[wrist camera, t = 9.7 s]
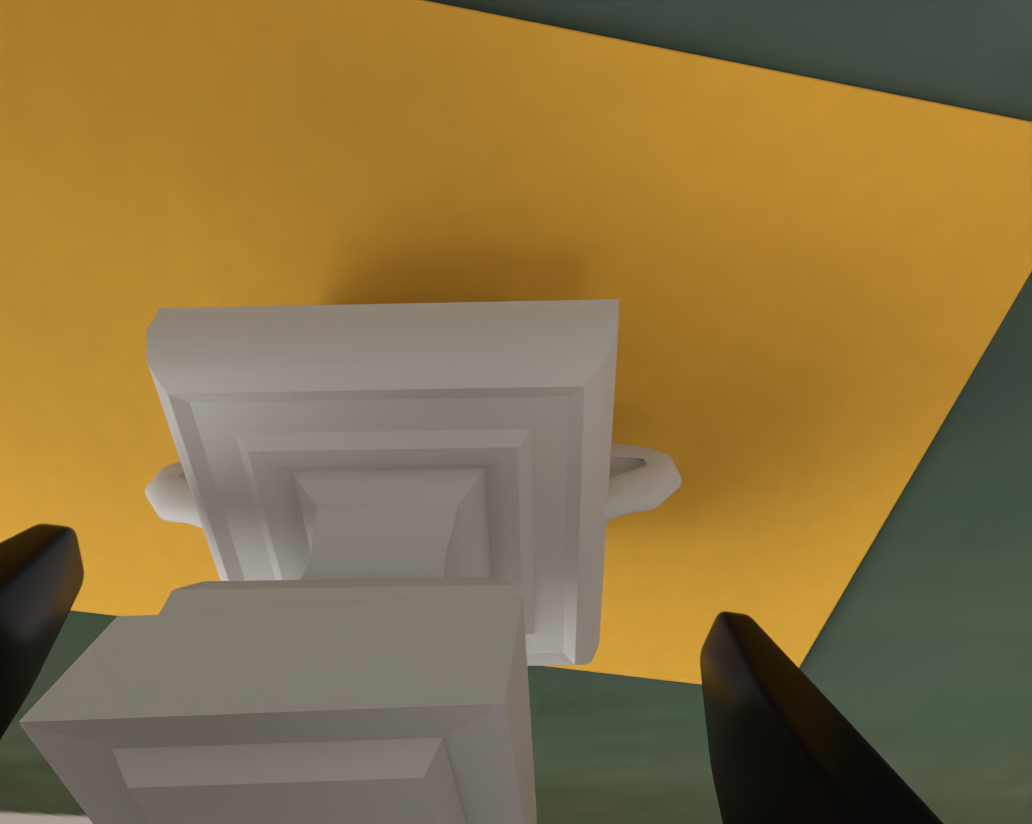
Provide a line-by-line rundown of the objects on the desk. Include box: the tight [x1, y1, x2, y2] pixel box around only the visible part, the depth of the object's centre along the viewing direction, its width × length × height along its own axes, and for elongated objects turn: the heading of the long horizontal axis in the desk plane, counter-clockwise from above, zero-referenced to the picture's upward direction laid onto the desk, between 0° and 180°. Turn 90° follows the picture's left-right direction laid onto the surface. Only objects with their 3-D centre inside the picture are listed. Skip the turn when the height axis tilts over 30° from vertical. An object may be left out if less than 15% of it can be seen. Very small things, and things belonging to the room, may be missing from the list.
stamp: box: [18, 299, 682, 824], centre depth 10 cm, size 9×7×8 cm
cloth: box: [0, 0, 1032, 684], centre depth 14 cm, size 20×14×1 cm
